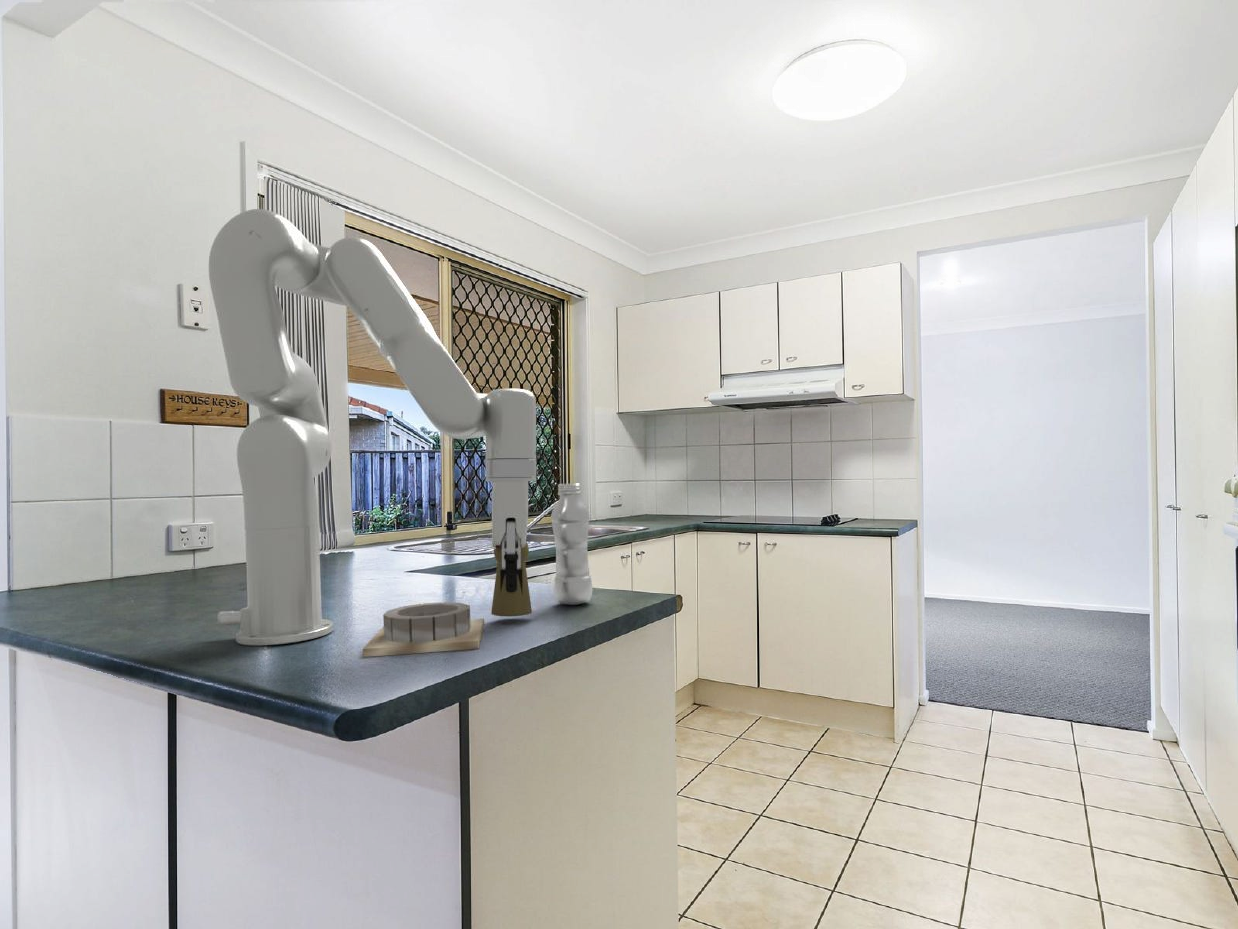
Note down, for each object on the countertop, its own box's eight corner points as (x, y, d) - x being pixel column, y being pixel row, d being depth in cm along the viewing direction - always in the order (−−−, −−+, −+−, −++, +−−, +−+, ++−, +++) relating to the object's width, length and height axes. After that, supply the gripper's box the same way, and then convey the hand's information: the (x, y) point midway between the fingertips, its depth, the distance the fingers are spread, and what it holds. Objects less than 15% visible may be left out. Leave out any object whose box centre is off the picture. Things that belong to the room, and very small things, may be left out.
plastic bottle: (598, 600, 118) (593, 482, 118) (585, 608, 111) (580, 483, 112) (562, 600, 120) (558, 484, 120) (548, 608, 113) (543, 485, 113)
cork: (528, 616, 101) (528, 540, 101) (487, 616, 101) (486, 540, 101) (534, 608, 107) (534, 536, 107) (495, 608, 107) (495, 537, 107)
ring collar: (362, 657, 86) (361, 624, 86) (384, 632, 100) (383, 604, 100) (478, 648, 88) (477, 616, 88) (484, 625, 102) (483, 598, 102)
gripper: (488, 472, 112) (488, 586, 112) (482, 471, 96) (483, 605, 96) (535, 472, 113) (535, 585, 113) (537, 471, 97) (538, 603, 97)
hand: (511, 593), depth 104 cm, fingers closed on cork, 3 cm apart
